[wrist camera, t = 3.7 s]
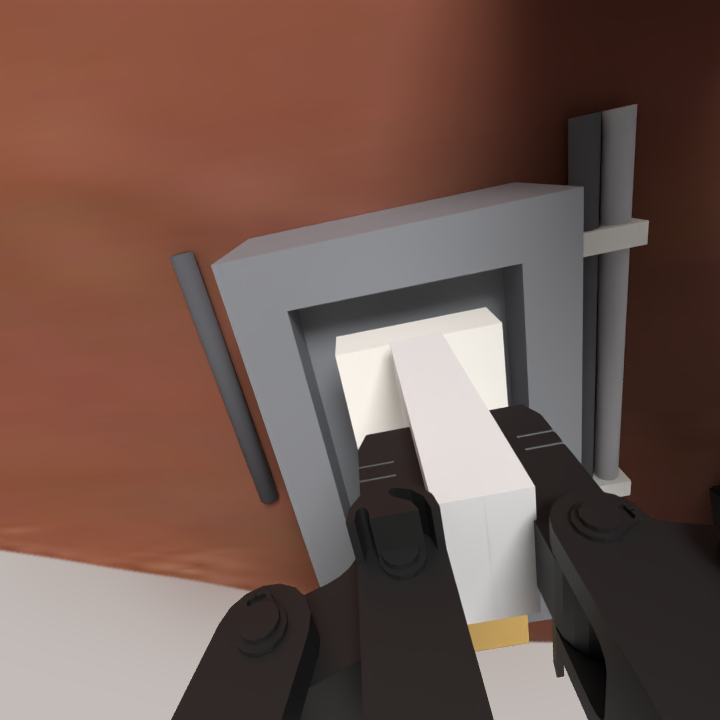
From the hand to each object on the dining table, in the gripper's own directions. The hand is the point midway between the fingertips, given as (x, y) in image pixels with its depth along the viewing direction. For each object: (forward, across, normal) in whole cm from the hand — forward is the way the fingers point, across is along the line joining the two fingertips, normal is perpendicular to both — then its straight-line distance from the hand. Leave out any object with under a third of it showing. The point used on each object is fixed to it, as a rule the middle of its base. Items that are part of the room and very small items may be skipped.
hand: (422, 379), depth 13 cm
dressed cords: (+9, +10, -6) cm, 14 cm away
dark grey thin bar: (+9, -9, -3) cm, 13 cm away
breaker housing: (+9, 0, -6) cm, 11 cm away
